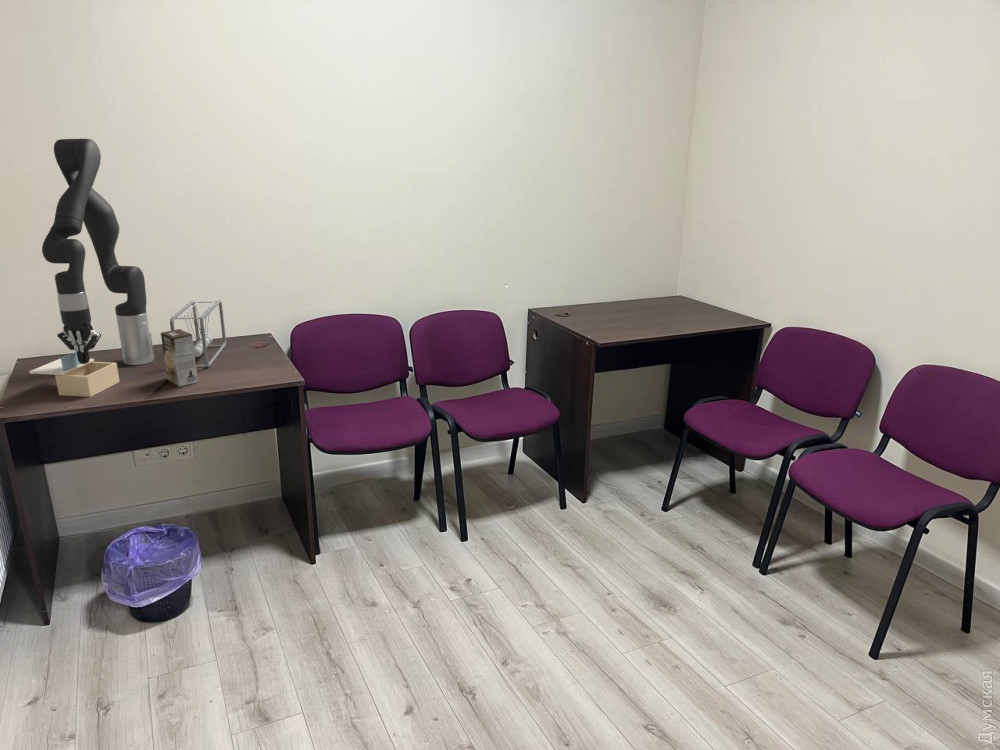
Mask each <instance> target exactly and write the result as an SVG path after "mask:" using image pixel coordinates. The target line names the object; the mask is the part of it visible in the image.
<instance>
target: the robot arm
mask: <svg viewBox="0 0 1000 750" xmlns="http://www.w3.org/2000/svg"><path fill="white" fill-rule="evenodd" d="M53 152H54V153H53V154H54V157H55V160H56V163H57V165H58V167H59V170H60V171H61V174H62V176H63V178H64V180H65V181H66V183H67V185H68V188H67V189H66V190H65V191H64V192H63V194H62V195H61V196H60V198H59V199H58V202H57V205H56V209H55V214H54V220H53V223H52V226H51V227H50V229H49V230H48V233H47V235H46V237H45V238H44V241H43V243H42V247H41V252H42V253H41V254H42V256H43V258H44V259H45V261H47V262H48V263H51V264H59V265H60V264H63V265H64V264H67V265H68V269H67V270H64V271H60V272H58V273H56V274H55V275H54V281H55V287H56V293H57V303H58V307H59V313H60V317H61V319H60V320H61V323H62V324H63V327H62V328H63V330H62V331H61V332H59V333H57V334H56V335H57V337H58V339H60V341H62V343H63V344H64V345H65V346H66V347H67V348H68V350H70V351H74V352H75V351H76V352H77V357H78V361H79V362H80V364H86V363H88V362H89V361H90V359H91V358H90V352H89V351H90V350H92V349H94V348H95V347H96V346H97V344H98V342H99V341H100V338H101V337H102V333H101V332H98V333H97V332H96V331H95V330H94V327H93V326H92V323H91V322H92V316H91V310H90V305H89V301H88V296H87V292H86V289H85V282H84V269H85V268H84V267H85V266H84V265H85V260H86V249H85V246H84V244H83V243H82V242H81V241H80V240H79V239H76V238H70V237H74V236H77V235H79V234H81V232H82V229H83V225H84V226H85V230H86V231H87V233H88V235H89V238H90V240H91V243H92V246H93V249H94V253H95V255H96V257H97V260H98V263H99V264H98V265H99V267H100V268H99V269H100V271H101V275H102V278H103V282H104V284H105V286H106V288H107V289H108V291H109V292H111V293H114V294H126V301H124V302H122V303H119V304H117V305H115V309H114V311H115V316H116V322H117V329H118V334H119V341H120V347H121V353H122V358H123V365H125V366H126V365H128V366H139V365H145V364H149V363H151V362H152V363H153V361H154V359H155V353H154V347H153V345H154V344H153V340H152V334H151V331H150V327H149V321H148V315H147V302H148V301H147V292H146V281H145V275H144V272H143V270H142V269H141V268H140V267H139V266H135V265H134V266H133V265H120V264H119V262H118V260H117V257H116V253H115V251H116V250H115V248H116V244H117V242H118V239H119V234H120V226H119V222H118V219H117V216H116V213H115V212H114V208H112V206H111V204H110V203H109V202H108V201H107V200H106V199H105V198H104V197H103V196H102V195H101V194H100V193H99V192H97V190H95V189H94V188H93V186H94V182H95V180H96V178H97V176H98V175H97V174H98V171H99V169H100V165H101V160H102V159H101V157H102V155H101V150H100V148H99V146H98V144H97V143H96V142H95V141H94V140H93V139H90V138H62V139H57V140H56V141H55V142H54V144H53Z"/></svg>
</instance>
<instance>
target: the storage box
mask: <svg viewBox="0 0 1000 750" xmlns="http://www.w3.org/2000/svg"><path fill="white" fill-rule="evenodd" d="M118 369H119V368H118V363H117V362H109V361H108V362H106V361H92V362H90V363H88V364H86V365H83V366H81V367H79V368H77V369H75V370H72V371H70V372H68V373H66V374H63V375H54V377H55V381H56V382H55V383H56V386H57V387H56V388H57V391H58V396H69V397H88V398H89V397H91V398H92V397H93V396H95V395H97V394H99V393H101V392H103V391H105V390H107V389H108V388H110V387H112V386H114V385H116V384H118V383H120V382H121V381H120V377H119V370H118Z"/></svg>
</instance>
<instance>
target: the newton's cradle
mask: <svg viewBox="0 0 1000 750" xmlns="http://www.w3.org/2000/svg"><path fill="white" fill-rule="evenodd" d="M205 303H208V305H207V306H205V307H204V306H203V307H200V306H199V307H198V306H197V305H198V304H205ZM209 303H210V304H209ZM216 307H219V308H218V309H219V317H220V318H219V319H220V325H221V336H222V344H212V342H213V337H212V335H210V334H208V332H209V327H207V322H209V320H210V319H209V318H210V314H211V313H212V312H213V311H214V310H215V308H216ZM198 308H200V309H201V308H205V309H203V310H202V311H201V312H200V314H199V310H198ZM223 309H224V308H223V302H222V300H217V301H216V300H215V301H213V300H212V301H194V300H191V301H189V302H188V303H187V304H185V305H184V306H183V307H182V308H181V309H180V310H179V311H177V312H176V313H175V314H174V315H173V316H171V318H170V320H169V326H170V331H172V330H176V329H175V320H185V322H186V323H185V324H186V326H187V329H188V331H189V332H188V333H191V331H190V328H189V326H188V323H187V320H189V323H190V327H191V330H192V333H193V335H194V336H193V337H194V339H195V341H196V343H194V341H193V346H194V355H195V358H199V357H200V356H202V354H203V358H204V364H201V365H198V364H197V365H196V368H197V367H198V368H199V367H206V368H211V366H212V365H213V363H214V362H215V361H216V359H217V358H218V357H219V355H220V354H221V353H222V351H223V350H224V349H223V348H225V347H226V346H227V337H226V335H227V334H226V328H225V319H224V310H223ZM186 310H187V311H186ZM191 310H192V312H191ZM188 313H189V314H190V316H191V317H189V314H188ZM183 316H184V317H183ZM186 316H187V317H186ZM206 319H207V322H205V320H206ZM191 320H192V322H193V325H194V328H193V326H192V323H191ZM206 328H207V331H206ZM194 329H195V330H194ZM194 331H195V332H194ZM208 347H219V349H218V350H217V351H216V353H215V354H214V355H213V356H212V358H211V359H210V360H209V355H208ZM220 352H221V353H220ZM217 356H218V357H217Z"/></svg>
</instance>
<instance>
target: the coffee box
mask: <svg viewBox="0 0 1000 750" xmlns="http://www.w3.org/2000/svg"><path fill="white" fill-rule="evenodd" d="M160 337H161V343H162V344H161V345H162V352H163V359H164V367H165V372H166V373H165V374H166V379H167V381H168V382H170V383H172V384H174V385H175V386H177V387H180V388H181V387H184V386H188V385H192V384H197V383H199V382H198V373H197V372H198V371H197V367H196V364H197V363H196V357H195V355H194V344H193V342H194V339H193V334H192V333H191V332H187V331H186V330H183V329H181V328H179V329H178V328H177V329H175V330H172V331H171V330H168V331H163V332H160Z"/></svg>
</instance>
